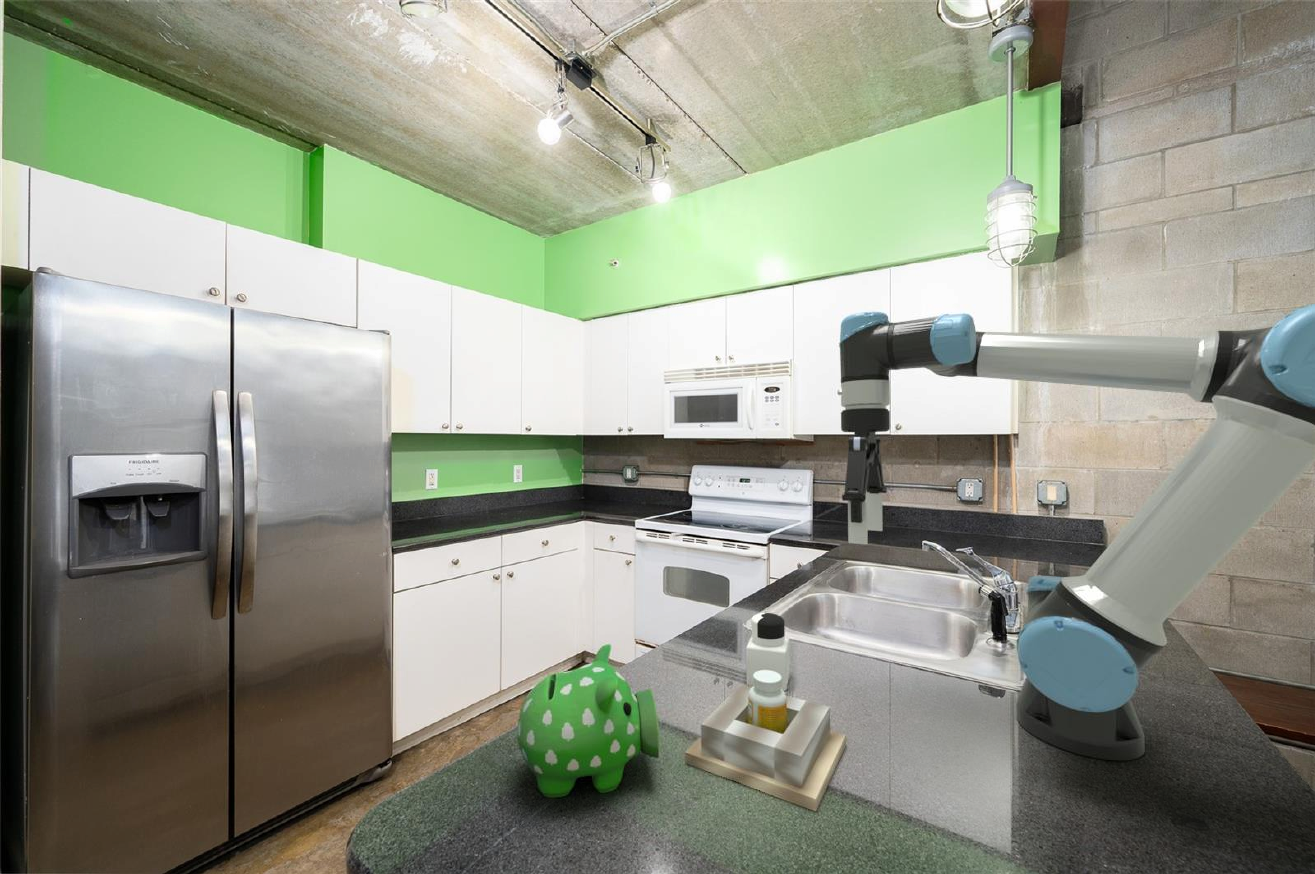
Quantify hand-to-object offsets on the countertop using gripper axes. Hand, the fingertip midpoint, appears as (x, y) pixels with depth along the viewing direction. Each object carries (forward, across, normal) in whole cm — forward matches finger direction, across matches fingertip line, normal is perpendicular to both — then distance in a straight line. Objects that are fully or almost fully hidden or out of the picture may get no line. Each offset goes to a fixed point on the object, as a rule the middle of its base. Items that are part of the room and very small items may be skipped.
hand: (866, 536), depth 86 cm
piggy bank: (+29, +37, -29) cm, 55 cm away
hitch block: (+29, +20, -10) cm, 36 cm away
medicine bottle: (+29, -2, -18) cm, 34 cm away
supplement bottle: (+27, +20, -10) cm, 35 cm away
